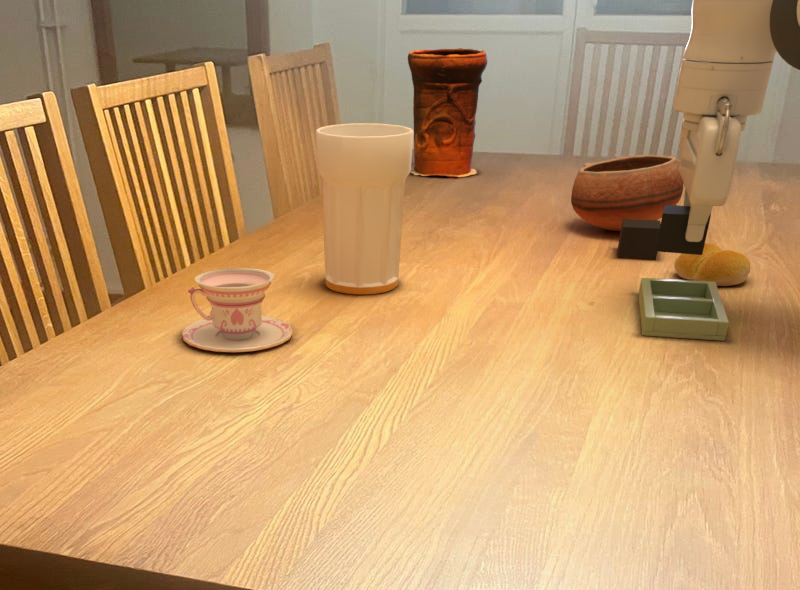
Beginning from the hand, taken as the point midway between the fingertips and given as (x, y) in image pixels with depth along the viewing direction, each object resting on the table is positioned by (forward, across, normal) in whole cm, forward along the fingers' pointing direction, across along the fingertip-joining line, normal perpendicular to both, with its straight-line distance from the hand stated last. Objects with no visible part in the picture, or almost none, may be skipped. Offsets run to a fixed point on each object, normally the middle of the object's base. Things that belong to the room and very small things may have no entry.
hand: (690, 233), depth 108 cm
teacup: (+8, -22, +47) cm, 52 cm away
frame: (+8, -4, 0) cm, 9 cm away
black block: (+8, +24, +4) cm, 26 cm away
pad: (+2, 0, +1) cm, 2 cm away
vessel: (+8, +81, +39) cm, 90 cm away
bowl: (+8, +39, +6) cm, 41 cm away
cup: (+8, +1, +38) cm, 39 cm away
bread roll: (+8, +14, -5) cm, 17 cm away
